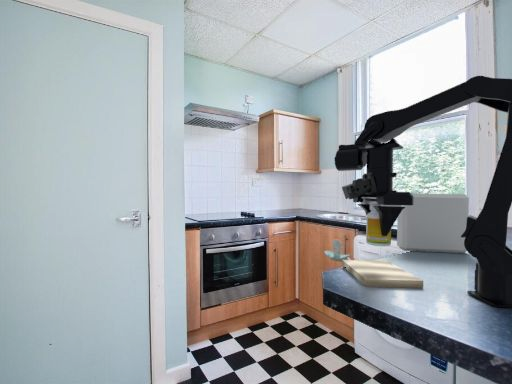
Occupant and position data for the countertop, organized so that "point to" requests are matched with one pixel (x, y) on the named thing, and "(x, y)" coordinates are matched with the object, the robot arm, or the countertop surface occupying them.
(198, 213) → the countertop surface
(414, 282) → the birch board
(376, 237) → the supplement bottle
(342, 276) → the countertop surface
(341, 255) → the pacifier
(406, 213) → the bevelled white case
